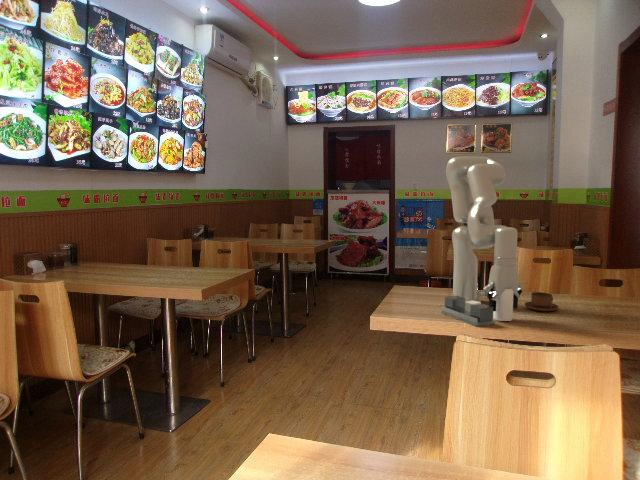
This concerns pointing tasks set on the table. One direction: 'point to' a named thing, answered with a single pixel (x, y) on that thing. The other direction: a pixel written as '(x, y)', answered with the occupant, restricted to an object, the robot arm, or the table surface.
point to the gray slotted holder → (475, 317)
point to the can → (504, 306)
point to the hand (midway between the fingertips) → (503, 309)
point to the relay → (469, 303)
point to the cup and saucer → (541, 302)
